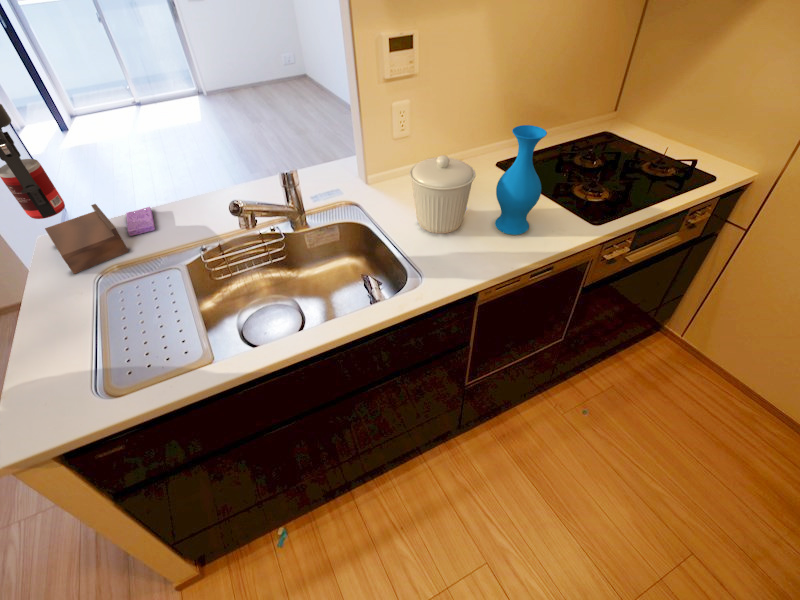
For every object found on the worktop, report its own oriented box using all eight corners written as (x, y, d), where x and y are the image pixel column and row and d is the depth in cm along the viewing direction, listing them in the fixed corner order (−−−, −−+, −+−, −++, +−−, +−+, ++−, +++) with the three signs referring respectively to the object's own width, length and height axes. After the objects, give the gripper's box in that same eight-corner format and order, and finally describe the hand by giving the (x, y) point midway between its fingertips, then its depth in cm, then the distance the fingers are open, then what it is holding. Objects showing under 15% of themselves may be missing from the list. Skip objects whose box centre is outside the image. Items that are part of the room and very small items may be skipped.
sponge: (130, 236, 125) (127, 231, 124) (128, 217, 133) (125, 211, 132) (155, 230, 127) (153, 225, 126) (152, 211, 135) (149, 206, 134)
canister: (467, 208, 133) (474, 142, 119) (472, 241, 120) (481, 171, 106) (409, 208, 134) (409, 142, 120) (408, 241, 121) (408, 171, 107)
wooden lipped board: (74, 274, 112) (56, 249, 107) (56, 246, 122) (40, 222, 117) (129, 251, 119) (115, 227, 114) (108, 227, 129) (95, 203, 124)
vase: (491, 237, 121) (506, 140, 103) (490, 214, 131) (503, 121, 112) (534, 239, 120) (558, 142, 101) (530, 216, 130) (550, 122, 111)
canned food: (63, 198, 104) (35, 155, 96) (69, 211, 99) (41, 167, 91) (26, 209, 100) (-5, 165, 93) (30, 223, 95) (-2, 178, 88)
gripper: (8, 114, 80) (74, 219, 95) (-8, 90, 91) (53, 187, 107) (-41, 125, 76) (36, 232, 92) (-52, 98, 87) (18, 197, 103)
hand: (45, 208), depth 99 cm, fingers closed on canned food, 8 cm apart
